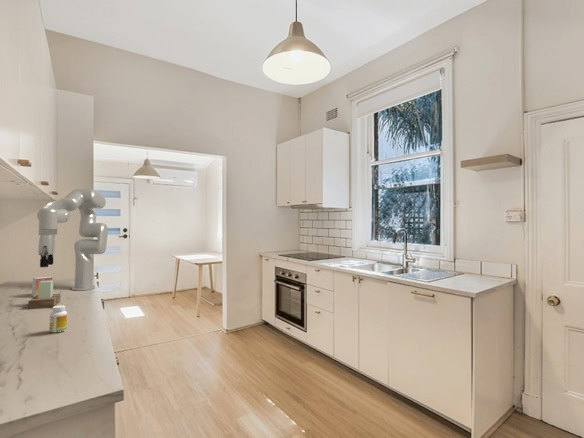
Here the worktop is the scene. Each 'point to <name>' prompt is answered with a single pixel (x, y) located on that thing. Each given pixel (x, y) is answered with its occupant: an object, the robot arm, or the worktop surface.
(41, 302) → the walnut base
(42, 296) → the sage block
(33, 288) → the small box
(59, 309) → the supplement bottle
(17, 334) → the worktop surface
